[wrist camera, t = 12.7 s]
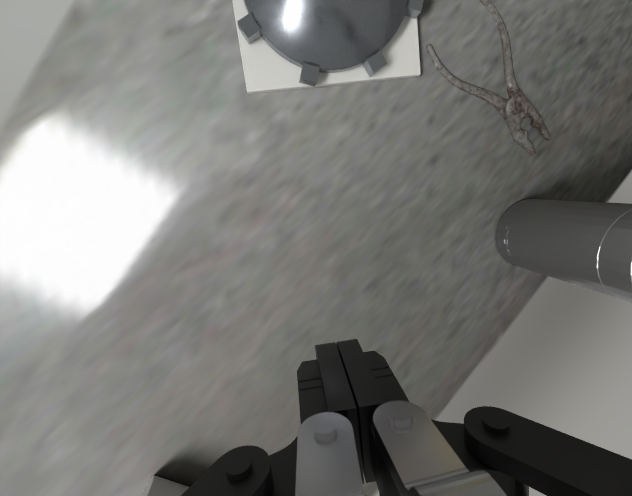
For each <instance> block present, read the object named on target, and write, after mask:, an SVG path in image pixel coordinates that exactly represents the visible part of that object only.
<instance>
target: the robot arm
mask: <svg viewBox="0 0 632 496" xmlns="http://www.w3.org/2000/svg"><path fill="white" fill-rule="evenodd" d="M496 244H497V248H498V251H499V253H500V254H501V256H502V257H503V258H504V259H505V260H506V261H507V262H509V263H511V264H513V265H516V266H519V267H522V268H525V269H528V270H531V271H534V272H537V273H540V274H543V275H546V276H549V277H553V278H556V279H559V280H562V281H565V282H568V283H571V284H574V285H577V286H581V287H583V288H586V289H590V290H593V291H596V292H599V293H602V294H606V295H609V296H611V297H615V298H618V299H621V300H624V301H628V302H630V303H632V204H622V203H604V202H584V201H564V200H547V199H525V200H522V201H519V202H517V203H515V204H514V205H512V206H511V207H510V208H509V209H508V210H507V211H506V212H505V213H504V214H503V216H502V217H501V219H500V221H499V223H498V227H497V230H496ZM315 350H316V358H317V360H311V361H304V362H302V363H301V365H300V367H299V369H298V370H297V378H298V391H299V405H300V418H301V426H300V428H299V430H298V436H297V437H296V439H295V440H294V441H293V442H292V443H291V444H290V445H289V446H287V447H286V448H284V449H282V450H280V451H278V452H276V453H274V454H272V455H270V456H268V454H267V453H266V452H265V451H264V450H263V449H261V448H259V447H257V446H241V447H237V448H235V449H232V450H230V451H228V452H227V453H225V454H224V455H222V456H221V457H220V458H219V459H218V460H217V461H216V462H215V463H214V464H213V465H212V466H211V467H210V468H209V469H208V470H207V471H206V472H205V473H204V474H202V475H201V476H200V477H199V478H198V479H197V480H196V481H195V482H194V483H193V484H192V485H191V486H190V487H189V488H188V489H187V490H186V491H185V492H184V493H183V494H182V495H181V496H365V495H364V489H363V484H364V479H363V473H364V476H365V480H366V483H368V482H374V481H376V483H377V486H378V489H379V494H380V496H529V487H531V488H533V489H535V490H537V491H539V492H541V493H543V494H545V495H547V496H632V460H631V459H629V458H626V457H623V456H621V455H618V454H616V453H613V452H611V451H608V450H606V449H603V448H601V447H598V446H595V445H593V444H590V443H587V442H585V441H583V440H580V439H577V438H575V437H572V436H570V435H567V434H565V433H562V432H560V431H557V430H555V429H552V428H549V427H547V426H544V425H542V424H539V423H537V422H534V421H532V420H529V419H526V418H524V417H521V416H519V415H516V414H513V413H511V412H509V411H506V410H503V409H500V408H495V407H486V406H484V407H477V408H474V409H472V410H470V411H468V412H467V413H466V415H465V417H464V424H460V423H447V422H439V421H435V420H432V419H430V418H429V417H428V415H427V414H426V412H425V411H424V410H423V409H422V408H420V407H419V406H417V405H415V404H413V403H410V402H409V400H408V398H407V397H406V395H405V393H404V391H403V390H402V388H401V386H400V384H399V383H398V381H397V379H396V377H395V376H394V374H393V372H392V370H391V369H390V368H389V365H388V363H387V362H386V360H385V358H384V357H383V356H381V355H380V354H378V353H377V352H375V351H369V352H363V351H362V349H361V347H360V345H359V342H358V340H357V339H353V340H347V341H340V342H337V343H335V342H334V343H327V344H320V345H315Z"/></svg>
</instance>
